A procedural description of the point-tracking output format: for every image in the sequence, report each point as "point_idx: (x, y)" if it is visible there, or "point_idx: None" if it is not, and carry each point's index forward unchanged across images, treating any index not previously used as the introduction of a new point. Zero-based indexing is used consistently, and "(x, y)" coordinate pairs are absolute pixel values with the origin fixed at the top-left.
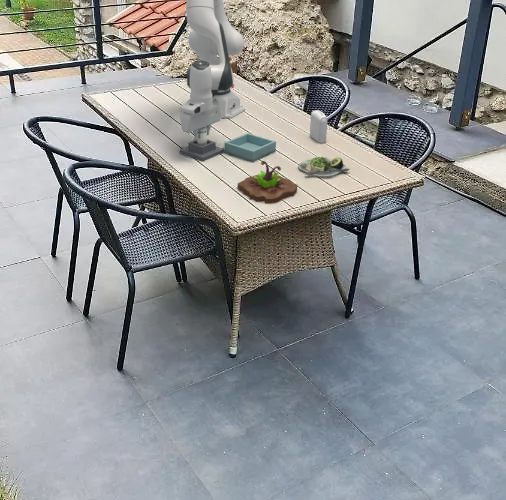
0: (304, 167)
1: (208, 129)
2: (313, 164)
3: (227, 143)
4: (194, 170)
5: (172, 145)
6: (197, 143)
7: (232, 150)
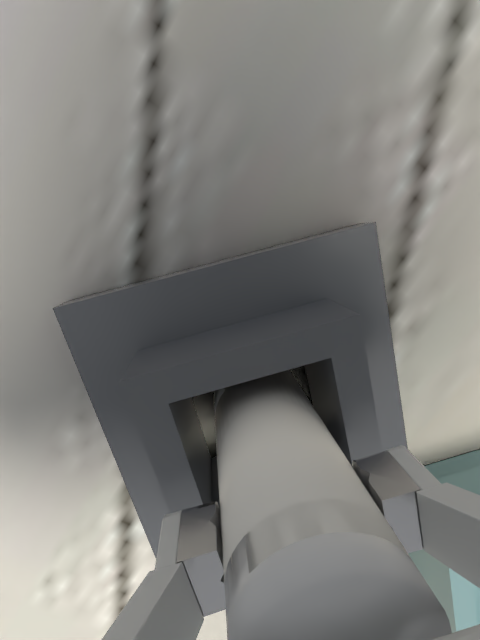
0: None
1: (460, 568)
2: None
3: (450, 580)
4: (22, 633)
5: (100, 54)
6: (218, 435)
7: (422, 572)
